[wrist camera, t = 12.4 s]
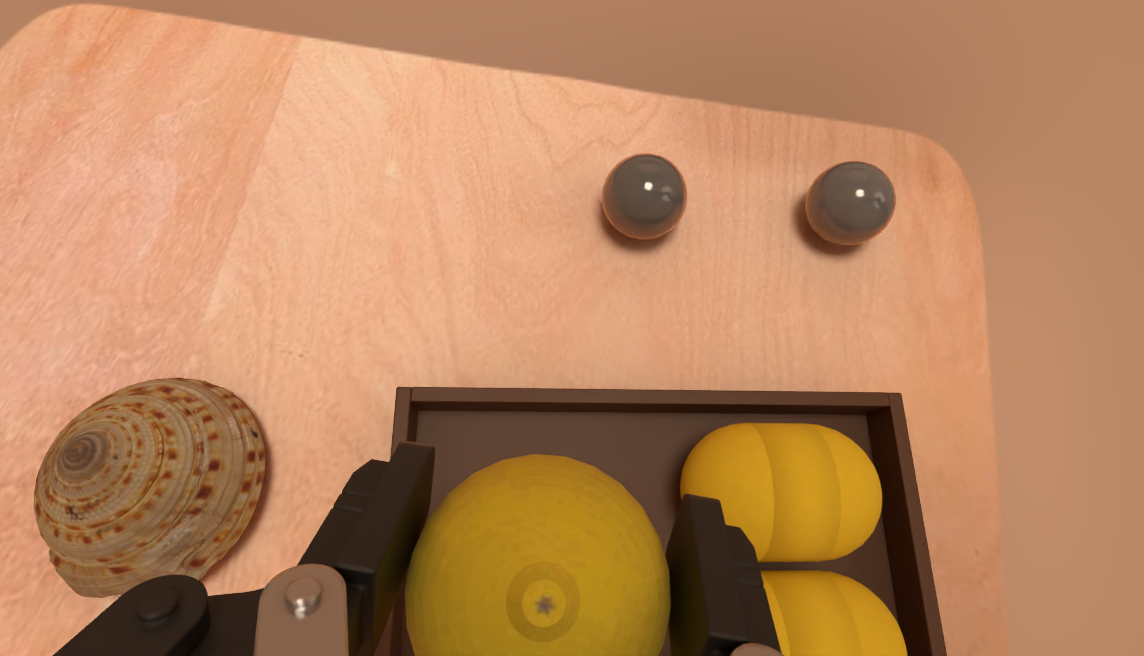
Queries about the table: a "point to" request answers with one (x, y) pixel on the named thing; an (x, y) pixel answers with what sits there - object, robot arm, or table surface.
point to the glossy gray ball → (850, 203)
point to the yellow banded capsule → (829, 616)
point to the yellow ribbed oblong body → (788, 488)
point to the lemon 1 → (538, 567)
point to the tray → (680, 468)
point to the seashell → (149, 485)
